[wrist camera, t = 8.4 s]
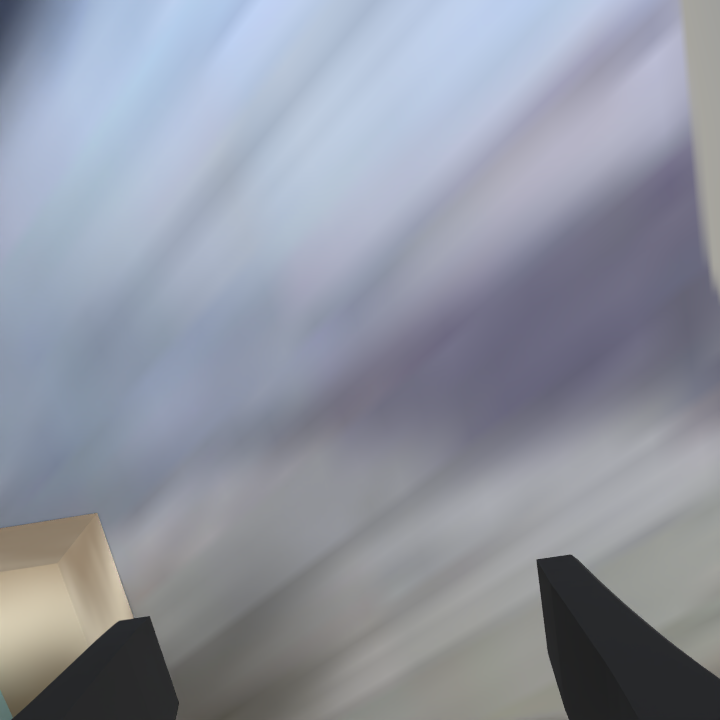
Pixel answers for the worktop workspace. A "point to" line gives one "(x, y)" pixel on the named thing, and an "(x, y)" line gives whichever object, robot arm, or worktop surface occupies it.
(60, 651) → the birch plinth
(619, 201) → the worktop surface
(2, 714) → the teal block
